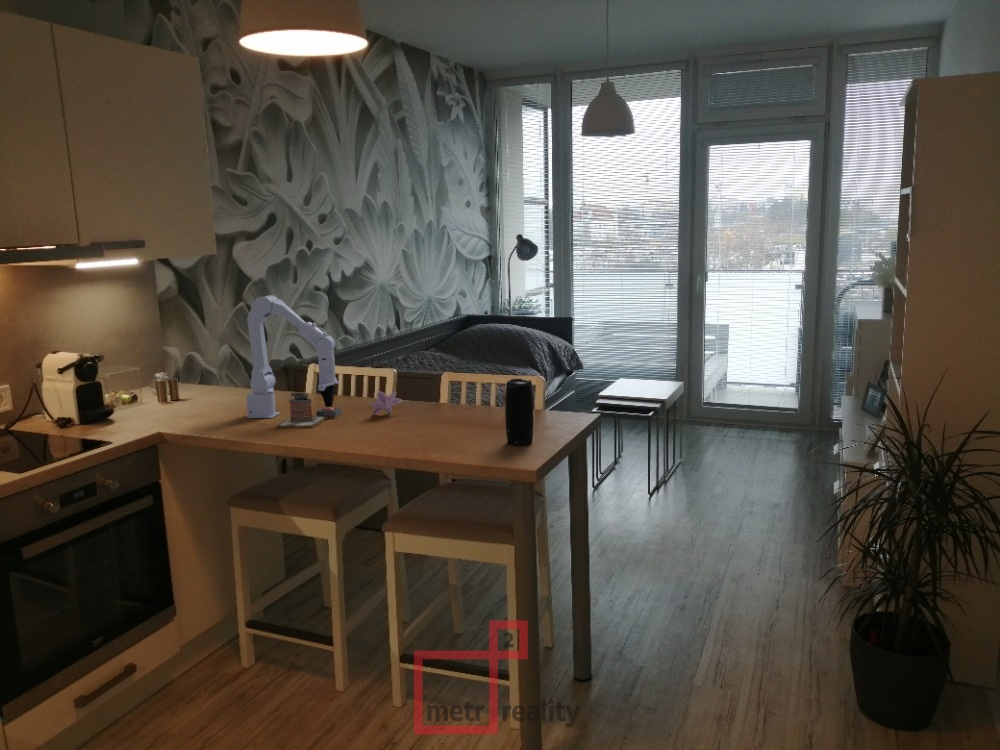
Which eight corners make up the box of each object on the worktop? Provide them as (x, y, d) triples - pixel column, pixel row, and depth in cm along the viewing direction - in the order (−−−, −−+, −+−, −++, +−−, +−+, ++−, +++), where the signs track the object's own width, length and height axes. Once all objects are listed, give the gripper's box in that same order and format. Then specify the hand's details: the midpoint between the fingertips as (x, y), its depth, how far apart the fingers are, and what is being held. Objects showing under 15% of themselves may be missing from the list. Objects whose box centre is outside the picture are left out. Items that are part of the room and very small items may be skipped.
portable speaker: (510, 447, 238) (508, 384, 234) (503, 440, 247) (501, 379, 243) (537, 445, 240) (536, 382, 236) (529, 438, 249) (528, 377, 245)
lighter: (314, 419, 277) (312, 391, 276) (310, 421, 274) (308, 393, 272) (293, 419, 279) (291, 391, 277) (288, 421, 276) (286, 393, 274)
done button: (322, 413, 285) (322, 409, 284) (326, 411, 288) (326, 407, 288) (332, 413, 284) (332, 409, 284) (335, 411, 288) (335, 407, 287)
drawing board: (276, 427, 270) (276, 425, 270) (293, 417, 285) (292, 415, 284) (312, 427, 268) (312, 425, 268) (327, 418, 283) (327, 415, 283)
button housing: (317, 417, 283) (316, 411, 283) (323, 413, 290) (323, 407, 290) (335, 418, 283) (335, 411, 282) (341, 413, 289) (341, 407, 289)
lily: (408, 416, 288) (400, 392, 290) (402, 410, 277) (394, 385, 279) (377, 427, 288) (369, 403, 290) (370, 421, 276) (362, 396, 279)
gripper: (330, 373, 276) (333, 410, 278) (344, 366, 290) (345, 402, 292) (311, 373, 277) (313, 410, 279) (325, 366, 291) (327, 402, 293)
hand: (328, 406), depth 286 cm, fingers closed
